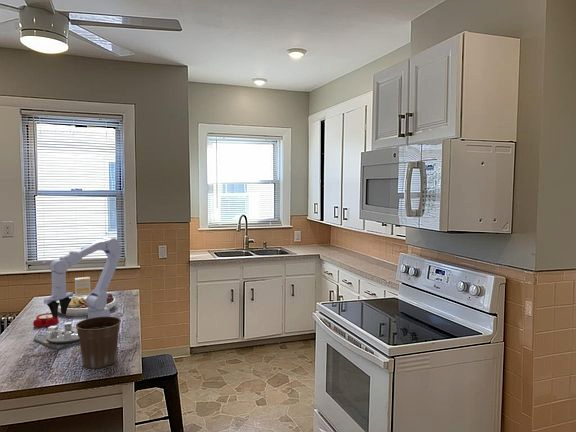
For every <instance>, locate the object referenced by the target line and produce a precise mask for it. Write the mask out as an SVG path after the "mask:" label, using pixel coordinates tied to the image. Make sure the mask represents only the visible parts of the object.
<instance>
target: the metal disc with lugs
mask: <svg viewBox="0 0 576 432" xmlns="http://www.w3.org/2000/svg"><path fill="white" fill-rule="evenodd" d="M45 335H46V340H47V341H48V342H52V343H68V342H74V341H78V340H80V339H79V336H78V331H77V328H76V326H73V325H72V321H67V322H66V321H65V322H64V327H62V328H59V326H58V325H54V326H50V327H48V326H47V331H46V334H45Z"/></svg>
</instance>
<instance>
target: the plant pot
mask: <svg viewBox="0 0 576 432" xmlns="http://www.w3.org/2000/svg"><path fill="white" fill-rule="evenodd" d="M121 323H122V319H120V318H119V317H116V316H110V317H94V318H89V319H88V318H86V319H83V320H81V321H78V322H77V323H76V324H75V327H76V328H77V331H78V336H79V339H80V344H79V345H80V346H79V347H80V353H81V361H82V366H83V367H85V368H86V369H91V368H93V369H94V370H95V369H97V370H98V369H102V368H105V367H106V366H112V365H113V364H115V363H116V362H117V356H118V354H117V353H118V343H119V332H120V326H121Z"/></svg>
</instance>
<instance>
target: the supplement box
mask: <svg viewBox="0 0 576 432" xmlns="http://www.w3.org/2000/svg"><path fill="white" fill-rule="evenodd" d="M91 291H92V290H91V277H90V276H84V277H83V276H82V277H75V278H74V295H75V296H83V295H90V293H91ZM75 296H74V297H75Z"/></svg>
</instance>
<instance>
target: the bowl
mask: <svg viewBox="0 0 576 432" xmlns="http://www.w3.org/2000/svg"><path fill="white" fill-rule="evenodd" d="M107 295H108V297H107V304H106V307H107V308H108V309H109V311H110V310H112V309H113V308H114V307H115V305H116V297H114V295H113V294H112V293H110V292H109V293H108V292H107ZM88 296H89V295H83V296H73V297H69V298H71V302H70V303H69V305H68V308H67V312H66V314H65V315H64V314H62V315H64V316H68V317H86V316H87V317H88V305H87V304H86V298H87V297H88ZM56 302H57V303H59V306H58V314H61V306H60V302H59V300H58V301H56Z"/></svg>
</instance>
